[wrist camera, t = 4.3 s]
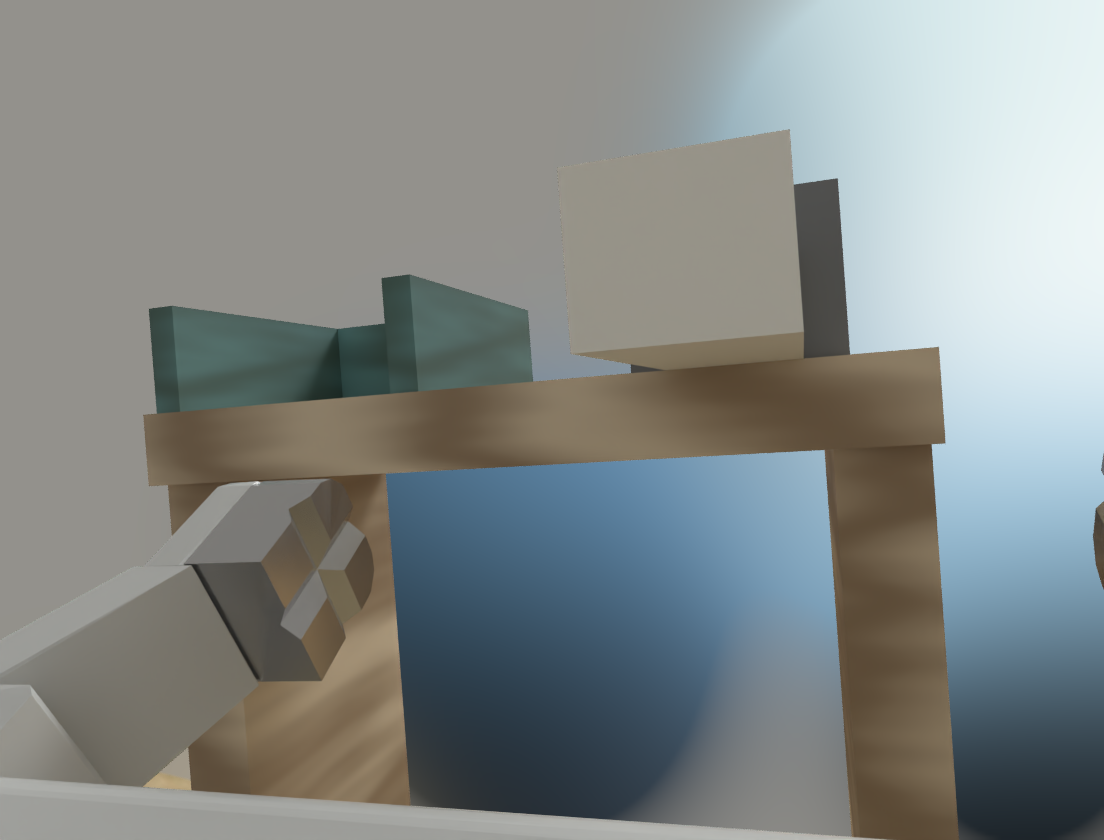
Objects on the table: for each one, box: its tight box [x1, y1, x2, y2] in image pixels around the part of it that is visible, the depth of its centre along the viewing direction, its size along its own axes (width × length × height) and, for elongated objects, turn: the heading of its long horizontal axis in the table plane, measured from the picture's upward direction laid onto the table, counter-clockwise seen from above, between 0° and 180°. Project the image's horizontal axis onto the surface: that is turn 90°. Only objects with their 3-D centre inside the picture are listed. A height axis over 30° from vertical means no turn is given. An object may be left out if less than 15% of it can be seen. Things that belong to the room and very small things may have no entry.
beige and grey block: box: [557, 130, 850, 373], centre depth 18 cm, size 16×5×4 cm, turn 163°
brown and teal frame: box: [143, 275, 959, 840], centre depth 25 cm, size 20×10×29 cm, turn 73°
